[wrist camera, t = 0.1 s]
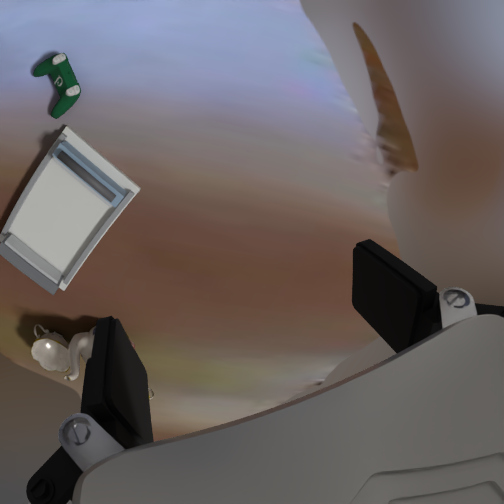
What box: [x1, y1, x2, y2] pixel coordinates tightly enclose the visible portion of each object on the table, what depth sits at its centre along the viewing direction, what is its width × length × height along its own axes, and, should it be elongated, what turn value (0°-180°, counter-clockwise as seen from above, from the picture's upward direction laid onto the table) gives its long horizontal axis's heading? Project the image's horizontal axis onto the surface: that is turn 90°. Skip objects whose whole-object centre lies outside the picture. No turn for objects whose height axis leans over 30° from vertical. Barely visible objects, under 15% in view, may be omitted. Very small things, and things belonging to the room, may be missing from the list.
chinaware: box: [31, 324, 154, 399], centre depth 47 cm, size 28×17×17 cm, turn 49°
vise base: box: [0, 126, 141, 295], centre depth 39 cm, size 15×22×4 cm
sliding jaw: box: [52, 141, 126, 208], centre depth 37 cm, size 12×2×4 cm, turn 43°
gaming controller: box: [33, 53, 81, 119], centre depth 32 cm, size 9×4×6 cm
